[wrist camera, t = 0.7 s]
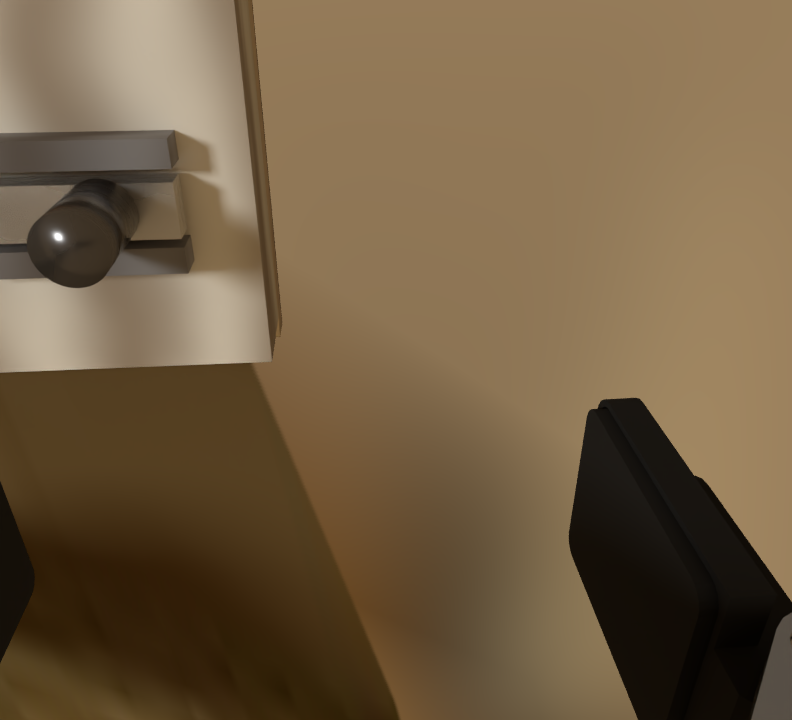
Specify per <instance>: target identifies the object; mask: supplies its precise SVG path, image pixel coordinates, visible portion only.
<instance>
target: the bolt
mask: <svg viewBox="0 0 792 720" xmlns="http://www.w3.org/2000/svg"><path fill="white" fill-rule="evenodd" d="M187 228H188V227H187V220H186V214H185V208H184V201H183V195H182V189H181V182H180V176H179V173H146V174H101V175H56V176H11V177H0V244H24V243H27V250H28V254H29V257H30V259H31V261H32V263H33V264H34V266H35V267H36V268H37V270H38V271H39V272H40V273H41V274H42V275H43V276H45V277H46V278H47V279H49V280H51V281H52V282H54V283H56V284H59V285H61V286H65V287H69V288H85V287H89V286H92V285H94V284H96V283H98V282H99V281H101V280H102V279H103V278H104V277H105V276H106V274H107V273H108V271H109V270H110V268H111V267H112V266H113V264H114V263H115V261H116V260H117V258H118V257H119V255H120V254H121V253H122V251H123V250H124V248H125V247H126V245H127V244H128V242H129V241H130V240H164V239H182V237H183V235H184V233H185V231H186V229H187Z"/></svg>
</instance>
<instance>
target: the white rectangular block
mask: <svg viewBox="0 0 792 720" xmlns="http://www.w3.org/2000/svg"><path fill="white" fill-rule="evenodd" d="M146 173H179V176H180V182H181V189H182V195H183V201H184V208H185V214H186V220H187V227H188V228H187V229H186V231H185V233H184V235H183V237H182V239H164V240H130V241H129V242H128V244H127V245H126V247H125V248H124V250H123V251H122V253H121V254H120V255H119V257H118V258H117V260H116V261H115V263H114V264H113V266H112V267H111V268H110V270H109V271H108V273H107V274H106V276H105V277H104V278H103V279H102V280H101V281H99V282H98V283H96V284H94V285H92V286H89V287H85V288H69V287H65V286H61V285H59V284H56V283H54V282H52V281H51V280H49V279H47V278H46V277H45V276H43V275H42V274H41V273H40V272H39V271H38V270H37V268H36V267H35V266H34V264H33V263H32V261H31V259H30V257H29V254H28V250H27V243H24V244H0V373H1V372H26V371H51V370H75V369H100V368H125V367H150V366H175V365H200V364H225V363H250V362H272V358H273V351H274V344H275V337H280V334H281V327H282V317H281V316H282V315H281V305H280V294H279V284H278V273H277V262H276V251H275V241H274V230H273V219H272V209H271V199H270V187H269V177H268V167H267V155H266V144H265V134H264V123H263V112H262V102H261V92H260V80H259V70H258V60H257V49H256V37H255V27H254V16H253V5H252V0H0V177H11V176H56V175H101V174H146Z"/></svg>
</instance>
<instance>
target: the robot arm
mask: <svg viewBox="0 0 792 720" xmlns="http://www.w3.org/2000/svg"><path fill="white" fill-rule="evenodd" d="M569 545H570V551H571V554H572V557H573V560H574V562H575V565H576V567H577V570H578V572H579V575H580V577H581V580H582V582H583V584H584V587H585V589H586V592H587V594H588V597H589V599H590V602H591V604H592V607H593V609H594V612H595V614H596V617H597V619H598V622H599V624H600V626H601V629H602V631H603V634H604V636H605V639H606V641H607V644H608V646H609V649H610V651H611V654H612V656H613V659H614V661H615V663H616V666H617V669H618V671H619V674H620V676H621V678H622V681H623V683H624V686H625V688H626V690H627V693H628V696H629V698H630V701H631V703H632V706H633V708H634V710H635V713H636V715H637V718H638V720H792V602H791V600H790V599H789V598H788V596H787V595H786V593H785V592H784V591H783V589H782V588H781V586H780V585H779V584H778V582H777V581H776V580H775V578H774V577H773V575H772V574H771V572H770V571H769V570H768V568H767V567H766V565H765V564H764V563H763V561H762V560H761V558H760V557H759V556H758V554H757V553H756V551H755V550H754V549H753V547H752V546H751V544H750V543H749V542H748V540H747V539H746V537H745V536H744V535H743V533H742V532H741V530H740V529H739V528H738V526H737V525H736V523H735V522H734V521H733V519H732V518H731V516H730V515H729V514H728V512H727V511H726V509H725V508H724V507H723V505H722V504H721V502H720V501H719V500H718V498H717V497H716V495H715V494H714V493H713V491H712V490H711V488H710V487H709V486H708V484H707V483H706V482H705V481H704V480H703V479H702V478H699V477H697V476H694V475H693V473H692V472H691V471H690V469H689V468H688V466H687V465H686V463H685V462H684V460H683V459H682V458H681V456H680V455H679V453H678V452H677V450H676V449H675V448H674V446H673V445H672V443H671V442H670V441H669V439H668V438H667V436H666V435H665V433H664V432H663V431H662V429H661V428H660V426H659V425H658V423H657V422H656V421H655V419H654V418H653V416H652V415H651V413H650V412H649V410H648V409H647V408H646V406H645V405H644V403H643V402H642V401H641V400H640V399H638V398H625V399H606V400H602V401H601V402H600V404H599V406H598V409H591V410H590V411H589V412H588V415H587V420H586V427H585V433H584V439H583V446H582V452H581V459H580V465H579V471H578V478H577V485H576V491H575V498H574V504H573V510H572V516H571V523H570V530H569ZM34 580H35V577H34V570H33V567H32V564H31V561H30V559H29V556H28V553H27V551H26V548H25V546H24V543H23V540H22V538H21V535H20V532H19V530H18V527H17V524H16V522H15V519H14V516H13V514H12V511H11V508H10V506H9V503H8V501H7V498H6V495H5V493H4V490H3V487H2V485H1V482H0V662H1V660H2V658H3V656H4V654H5V652H6V649H7V647H8V645H9V643H10V641H11V638H12V636H13V634H14V632H15V630H16V628H17V625H18V623H19V621H20V619H21V617H22V615H23V612H24V610H25V608H26V606H27V604H28V601H29V599H30V597H31V595H32V592H33V588H34Z"/></svg>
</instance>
